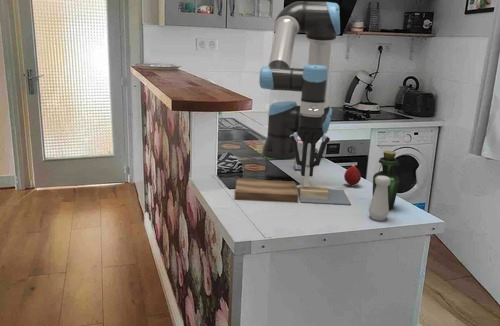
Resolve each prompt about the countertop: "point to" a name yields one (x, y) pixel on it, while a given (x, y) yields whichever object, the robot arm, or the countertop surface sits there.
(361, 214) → the countertop surface
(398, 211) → the countertop surface
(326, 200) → the slate mat
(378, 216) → the salt shaker
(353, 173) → the onion
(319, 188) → the beech block
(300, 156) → the supplement box
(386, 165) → the potion bottle
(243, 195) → the board
